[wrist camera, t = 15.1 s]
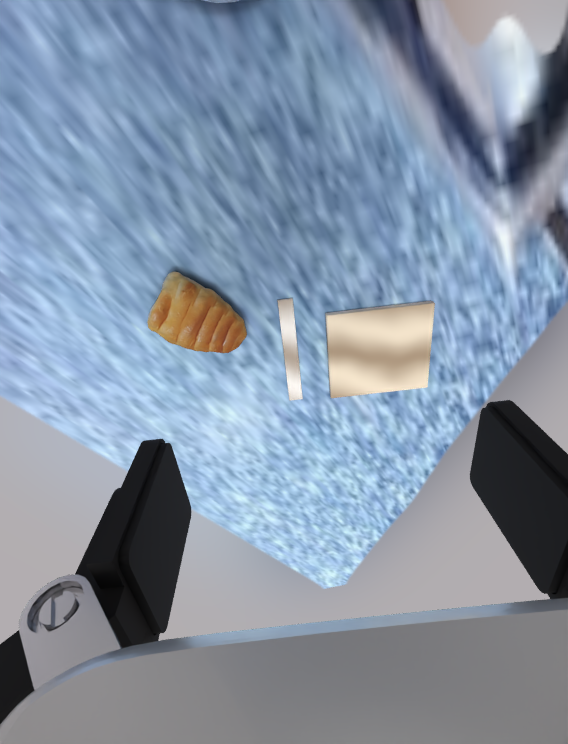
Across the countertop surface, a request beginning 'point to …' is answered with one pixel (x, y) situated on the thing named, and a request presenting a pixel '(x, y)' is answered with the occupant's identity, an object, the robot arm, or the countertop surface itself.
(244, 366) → the countertop surface
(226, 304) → the pastry
